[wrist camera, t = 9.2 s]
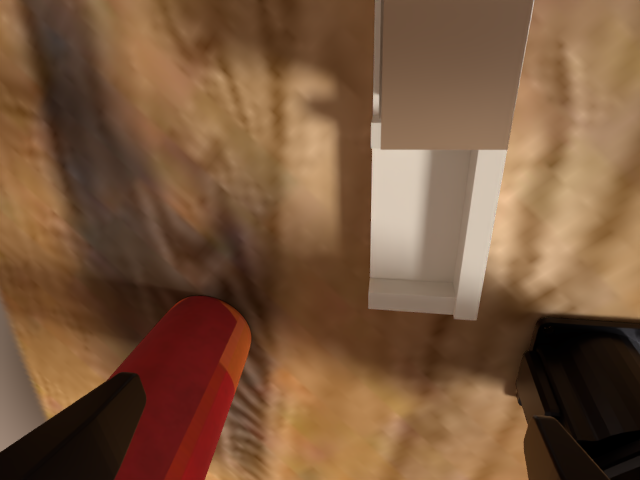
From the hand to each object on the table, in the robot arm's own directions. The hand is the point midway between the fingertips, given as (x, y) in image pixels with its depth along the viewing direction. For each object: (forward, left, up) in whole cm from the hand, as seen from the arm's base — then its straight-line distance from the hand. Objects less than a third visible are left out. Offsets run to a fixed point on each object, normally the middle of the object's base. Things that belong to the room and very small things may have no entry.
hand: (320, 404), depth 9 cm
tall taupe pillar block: (-3, -7, -11) cm, 14 cm away
